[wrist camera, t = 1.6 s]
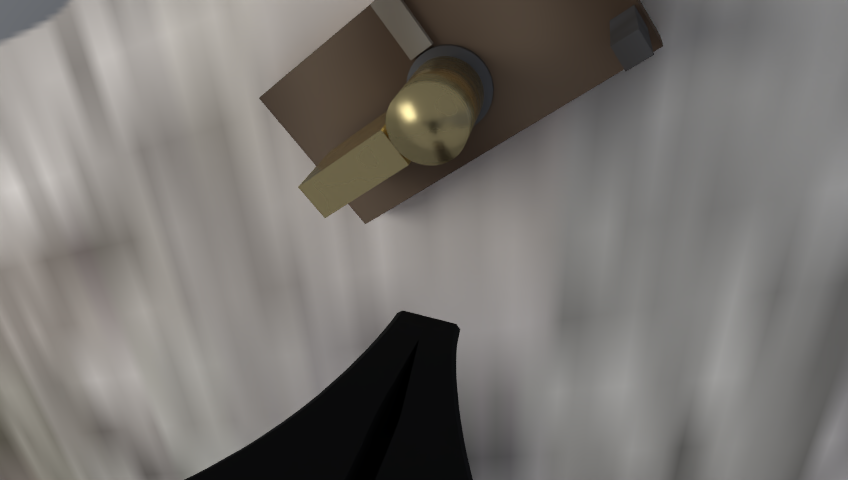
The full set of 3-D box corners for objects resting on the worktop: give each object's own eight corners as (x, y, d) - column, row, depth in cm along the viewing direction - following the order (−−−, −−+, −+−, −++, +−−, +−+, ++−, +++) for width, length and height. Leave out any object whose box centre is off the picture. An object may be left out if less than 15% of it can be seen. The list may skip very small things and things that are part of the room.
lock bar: (454, 40, 17) (433, 68, 15) (499, 104, 18) (485, 139, 16) (319, 139, 20) (286, 173, 18) (362, 191, 20) (335, 230, 18)
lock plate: (554, -149, 15) (543, -146, 13) (660, 36, 17) (671, 75, 14) (272, 87, 21) (220, 127, 18) (373, 209, 23) (340, 263, 20)
